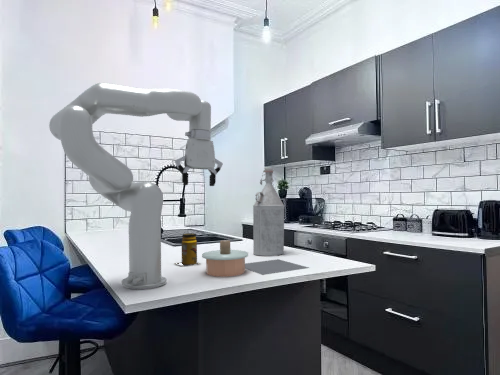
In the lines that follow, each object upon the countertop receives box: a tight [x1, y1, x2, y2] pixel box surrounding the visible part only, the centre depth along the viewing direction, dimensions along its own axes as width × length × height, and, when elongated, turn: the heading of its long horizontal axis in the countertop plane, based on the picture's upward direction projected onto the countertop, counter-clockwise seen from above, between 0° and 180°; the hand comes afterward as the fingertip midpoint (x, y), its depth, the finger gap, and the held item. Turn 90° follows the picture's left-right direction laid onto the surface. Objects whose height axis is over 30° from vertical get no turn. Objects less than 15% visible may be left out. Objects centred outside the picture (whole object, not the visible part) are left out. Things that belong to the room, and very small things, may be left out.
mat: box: [245, 258, 310, 276], centre depth 131 cm, size 20×20×1 cm
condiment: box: [173, 232, 201, 267], centre depth 140 cm, size 7×8×12 cm
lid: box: [201, 239, 249, 260], centre depth 123 cm, size 16×16×5 cm
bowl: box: [205, 257, 246, 277], centre depth 123 cm, size 13×13×6 cm
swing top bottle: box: [252, 166, 285, 257], centre depth 160 cm, size 13×17×40 cm
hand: (199, 185), depth 123 cm, fingers open, 9 cm apart
